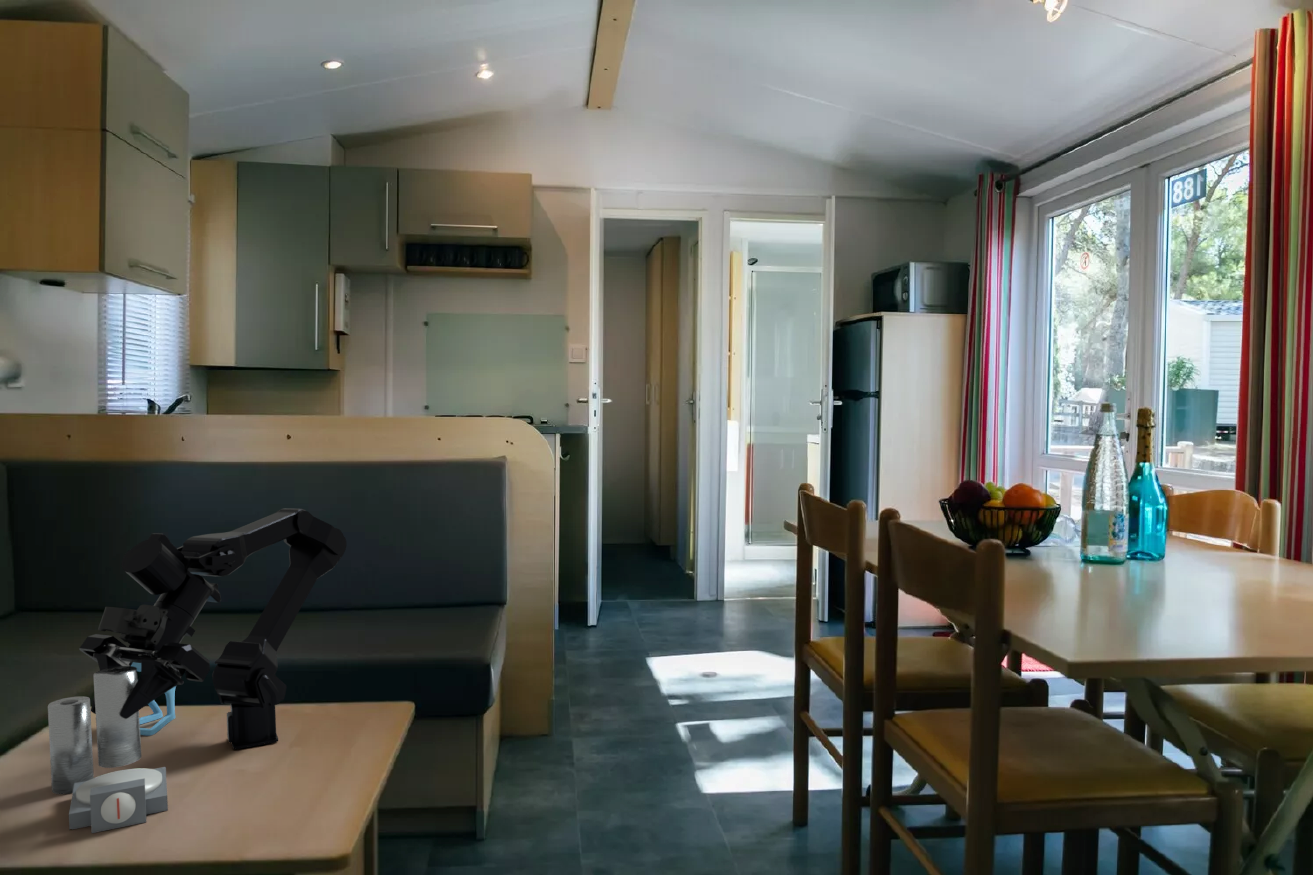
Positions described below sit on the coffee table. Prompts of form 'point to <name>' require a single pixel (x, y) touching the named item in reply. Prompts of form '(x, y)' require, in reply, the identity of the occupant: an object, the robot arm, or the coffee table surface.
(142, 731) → the chair
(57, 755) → the cylinder
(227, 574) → the robot arm
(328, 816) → the coffee table surface
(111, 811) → the scale
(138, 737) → the silver metal cylinder
